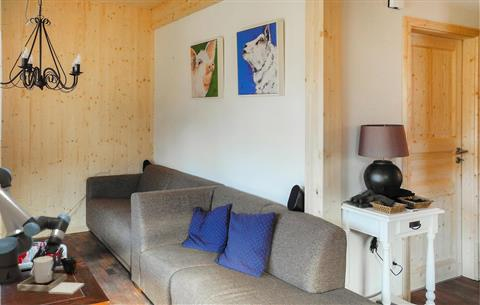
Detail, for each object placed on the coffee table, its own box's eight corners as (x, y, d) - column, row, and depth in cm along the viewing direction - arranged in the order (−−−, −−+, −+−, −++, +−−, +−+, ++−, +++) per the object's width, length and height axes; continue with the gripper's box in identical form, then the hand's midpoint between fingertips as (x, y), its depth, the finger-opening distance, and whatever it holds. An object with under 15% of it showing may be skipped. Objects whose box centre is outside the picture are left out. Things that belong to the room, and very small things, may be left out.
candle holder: (45, 284, 224) (45, 262, 223) (29, 282, 226) (29, 261, 225) (56, 277, 233) (56, 257, 232) (41, 276, 235) (41, 255, 234)
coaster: (48, 293, 218) (48, 291, 218) (61, 283, 230) (61, 282, 230) (72, 294, 216) (72, 292, 216) (84, 284, 229) (84, 283, 229)
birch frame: (17, 290, 222) (17, 284, 221) (37, 277, 239) (37, 272, 239) (49, 291, 220) (48, 286, 219) (66, 279, 238) (66, 274, 237)
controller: (71, 275, 243) (71, 259, 242) (59, 271, 250) (58, 255, 249) (78, 273, 247) (77, 257, 246) (65, 269, 253) (65, 253, 253)
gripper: (75, 243, 242) (61, 279, 228) (40, 241, 245) (24, 277, 230) (71, 236, 237) (56, 273, 222) (35, 234, 239) (18, 271, 224)
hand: (40, 275), depth 226 cm, fingers closed on candle holder, 9 cm apart
